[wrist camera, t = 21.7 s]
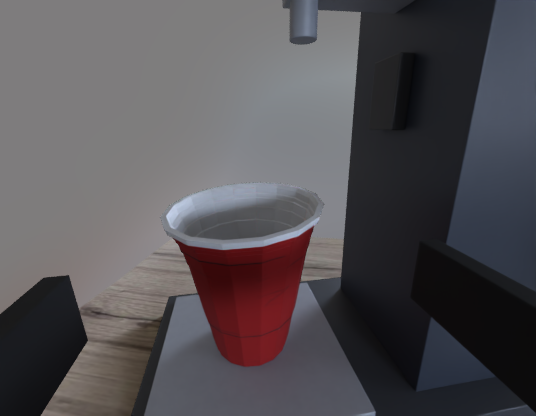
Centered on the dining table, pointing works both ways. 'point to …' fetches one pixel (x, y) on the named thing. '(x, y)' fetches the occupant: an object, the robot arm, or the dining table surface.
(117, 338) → the dining table surface
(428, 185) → the water dispenser
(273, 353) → the plastic cup
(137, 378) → the dining table surface
